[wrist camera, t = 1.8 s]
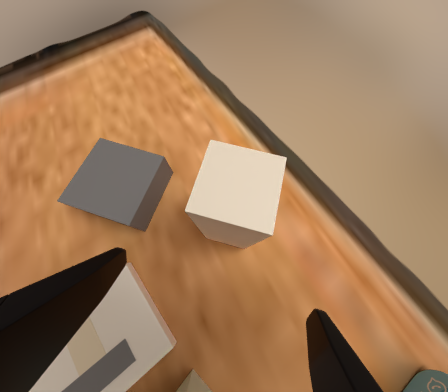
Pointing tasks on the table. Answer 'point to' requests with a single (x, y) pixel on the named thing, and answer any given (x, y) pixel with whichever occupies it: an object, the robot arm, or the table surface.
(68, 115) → the table surface
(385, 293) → the table surface
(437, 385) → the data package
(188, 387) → the sage cube
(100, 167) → the charcoal slab
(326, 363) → the robot arm
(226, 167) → the cream block
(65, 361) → the tile
